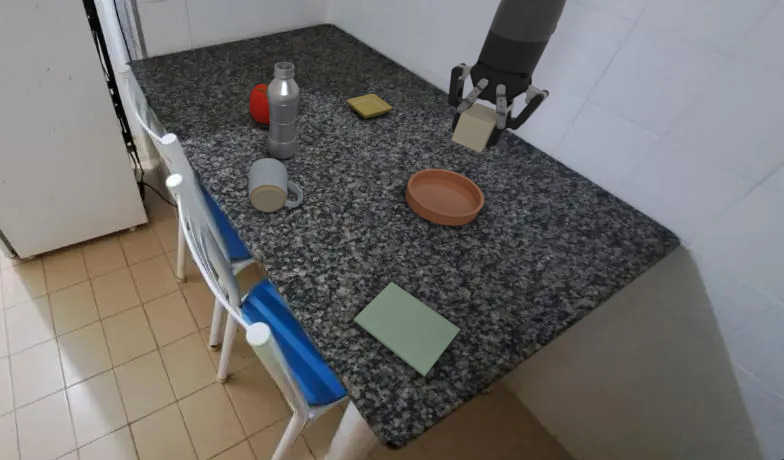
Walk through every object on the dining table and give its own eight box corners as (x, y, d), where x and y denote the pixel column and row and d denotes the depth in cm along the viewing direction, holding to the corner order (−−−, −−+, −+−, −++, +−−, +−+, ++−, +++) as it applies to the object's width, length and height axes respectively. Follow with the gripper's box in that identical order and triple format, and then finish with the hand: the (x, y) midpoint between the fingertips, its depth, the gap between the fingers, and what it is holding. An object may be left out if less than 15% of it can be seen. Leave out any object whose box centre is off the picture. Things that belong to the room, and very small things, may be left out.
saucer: (363, 122, 98) (365, 115, 96) (344, 106, 103) (346, 99, 102) (391, 115, 100) (393, 107, 99) (371, 100, 106) (373, 92, 104)
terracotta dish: (491, 201, 78) (496, 191, 76) (457, 237, 71) (462, 227, 69) (427, 169, 85) (431, 160, 83) (391, 199, 78) (393, 190, 76)
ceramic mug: (248, 215, 74) (248, 184, 68) (249, 187, 80) (248, 156, 74) (304, 215, 74) (308, 184, 69) (300, 187, 80) (304, 156, 75)
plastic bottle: (296, 162, 86) (303, 73, 71) (266, 162, 86) (266, 73, 71) (296, 146, 90) (301, 58, 76) (266, 145, 90) (267, 58, 76)
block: (493, 141, 65) (506, 113, 61) (479, 152, 62) (492, 124, 59) (465, 129, 67) (476, 102, 64) (450, 140, 65) (461, 112, 61)
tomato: (283, 136, 93) (284, 102, 87) (241, 126, 96) (239, 93, 89) (297, 115, 100) (299, 82, 93) (258, 106, 102) (257, 74, 96)
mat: (459, 330, 58) (460, 329, 57) (424, 376, 53) (425, 375, 52) (390, 283, 64) (391, 281, 63) (353, 320, 59) (353, 318, 58)
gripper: (457, 22, 54) (422, 130, 66) (568, 51, 47) (506, 167, 59) (482, 10, 58) (444, 115, 70) (588, 36, 51) (526, 148, 63)
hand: (473, 138), depth 64 cm, fingers closed on block, 5 cm apart
